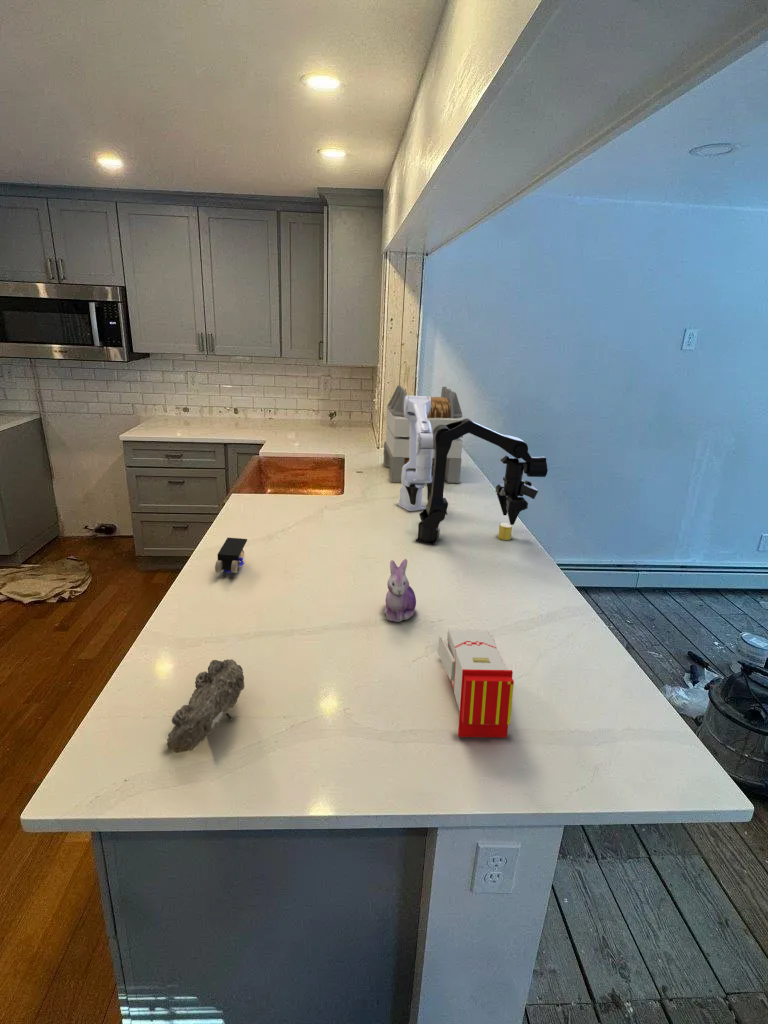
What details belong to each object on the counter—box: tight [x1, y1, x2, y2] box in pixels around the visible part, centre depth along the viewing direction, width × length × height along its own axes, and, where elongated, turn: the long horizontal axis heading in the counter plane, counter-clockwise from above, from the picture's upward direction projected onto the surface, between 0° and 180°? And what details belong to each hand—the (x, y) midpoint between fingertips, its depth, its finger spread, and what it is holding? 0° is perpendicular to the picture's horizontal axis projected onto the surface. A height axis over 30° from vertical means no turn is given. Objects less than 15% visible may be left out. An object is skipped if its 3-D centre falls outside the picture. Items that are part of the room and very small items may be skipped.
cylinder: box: [497, 522, 513, 541], centre depth 200 cm, size 4×4×5 cm
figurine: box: [384, 558, 417, 623], centre depth 145 cm, size 9×10×15 cm
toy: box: [437, 628, 515, 738], centre depth 117 cm, size 12×13×30 cm
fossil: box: [166, 658, 245, 754], centre depth 106 cm, size 22×10×15 cm
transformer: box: [383, 384, 464, 484], centre depth 268 cm, size 34×33×41 cm
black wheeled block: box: [214, 537, 248, 578], centre depth 166 cm, size 7×8×15 cm
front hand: (508, 519), depth 194 cm, fingers open, 9 cm apart
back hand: (421, 502), depth 206 cm, fingers open, 7 cm apart
